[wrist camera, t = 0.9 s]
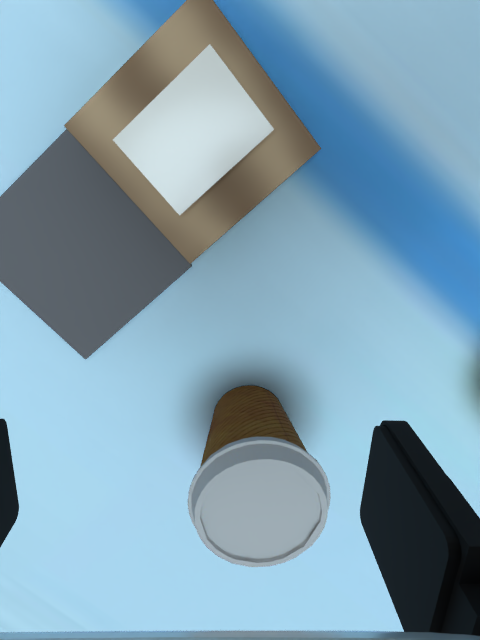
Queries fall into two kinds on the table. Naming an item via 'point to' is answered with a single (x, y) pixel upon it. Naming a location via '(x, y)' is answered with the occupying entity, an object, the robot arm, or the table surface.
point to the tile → (194, 131)
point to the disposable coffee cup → (257, 484)
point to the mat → (81, 247)
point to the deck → (148, 82)
